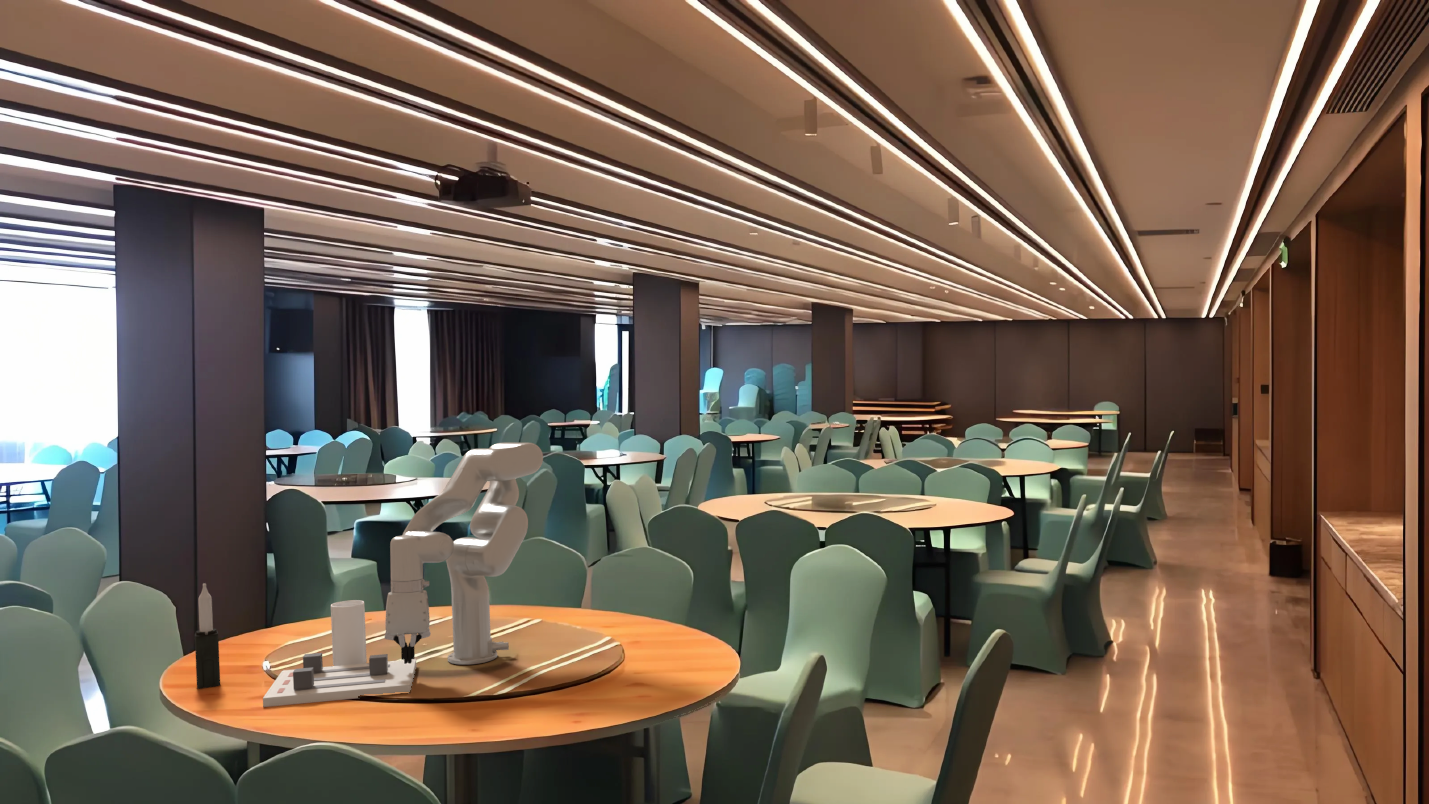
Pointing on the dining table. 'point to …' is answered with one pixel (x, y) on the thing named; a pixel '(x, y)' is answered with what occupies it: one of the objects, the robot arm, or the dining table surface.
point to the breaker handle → (378, 664)
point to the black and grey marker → (206, 645)
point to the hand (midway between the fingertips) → (408, 662)
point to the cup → (348, 632)
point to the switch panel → (336, 682)
